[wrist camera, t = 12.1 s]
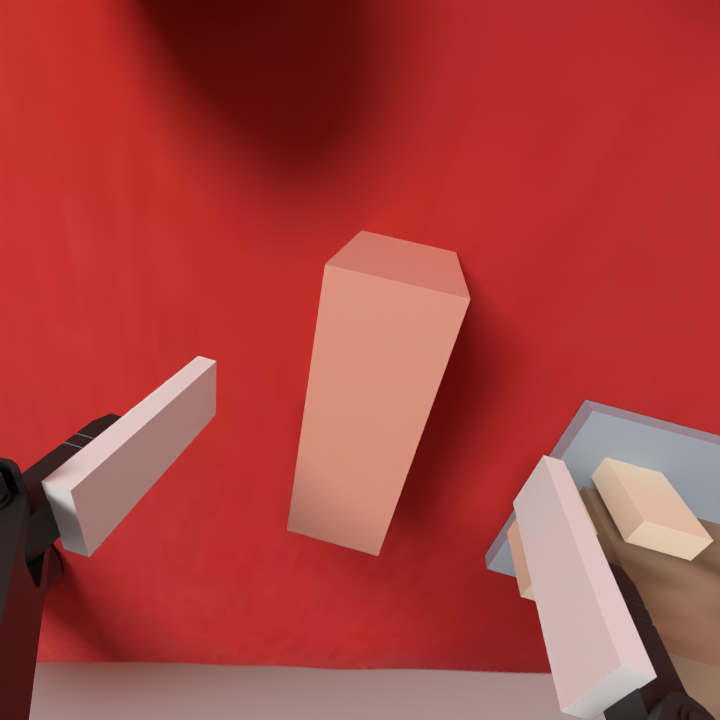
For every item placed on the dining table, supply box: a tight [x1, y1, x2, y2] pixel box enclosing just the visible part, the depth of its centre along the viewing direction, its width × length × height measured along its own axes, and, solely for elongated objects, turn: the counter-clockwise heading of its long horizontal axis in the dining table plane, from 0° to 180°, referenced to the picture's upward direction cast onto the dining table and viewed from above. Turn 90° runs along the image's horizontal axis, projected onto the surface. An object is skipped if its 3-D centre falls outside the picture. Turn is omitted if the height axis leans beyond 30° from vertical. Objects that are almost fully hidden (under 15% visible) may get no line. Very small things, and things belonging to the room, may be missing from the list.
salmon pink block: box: [287, 231, 470, 556], centre depth 17 cm, size 4×13×7 cm, turn 169°
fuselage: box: [579, 486, 720, 720], centre depth 18 cm, size 12×4×8 cm, turn 78°
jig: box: [485, 400, 720, 601], centre depth 20 cm, size 16×14×5 cm
